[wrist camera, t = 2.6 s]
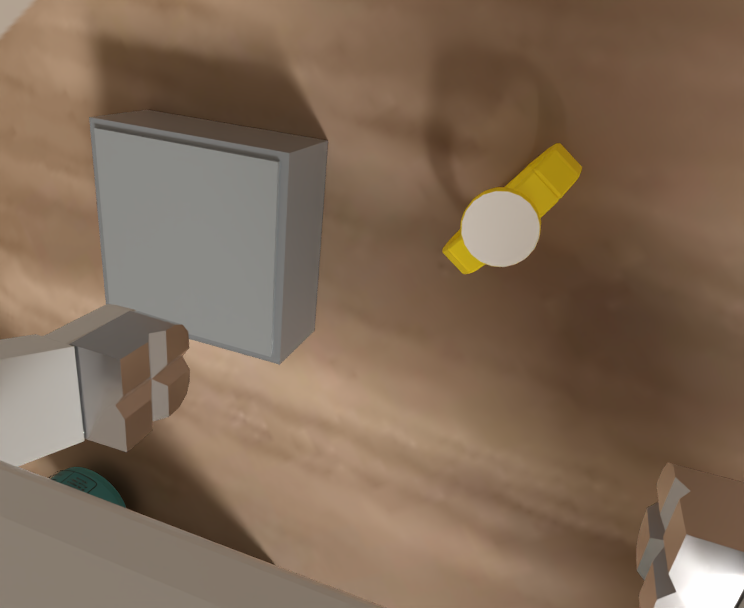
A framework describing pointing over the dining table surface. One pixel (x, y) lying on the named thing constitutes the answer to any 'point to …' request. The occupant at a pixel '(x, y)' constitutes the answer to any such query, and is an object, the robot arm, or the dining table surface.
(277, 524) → the dining table surface
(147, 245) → the base
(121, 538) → the robot arm
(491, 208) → the yellow ring-shaped piece
